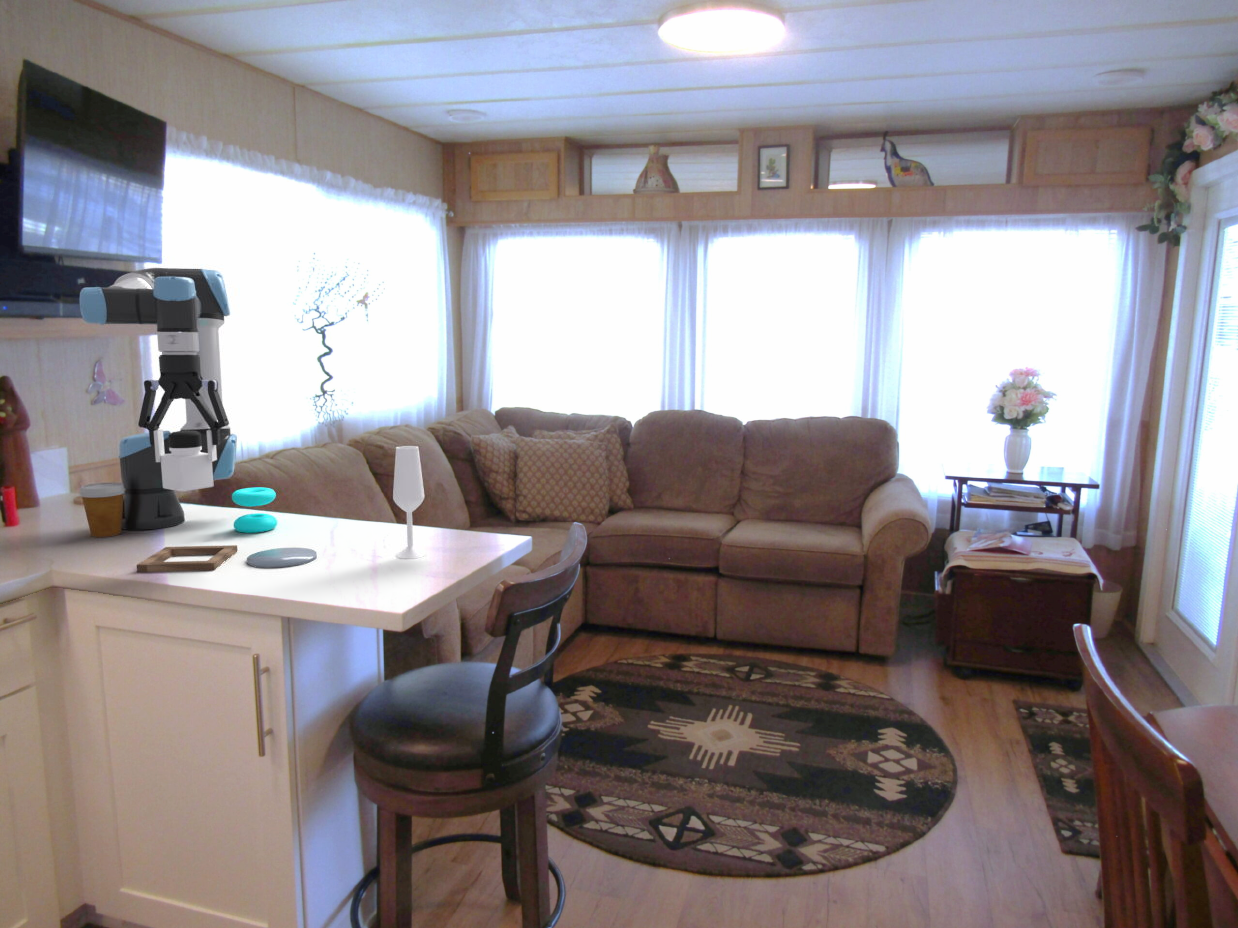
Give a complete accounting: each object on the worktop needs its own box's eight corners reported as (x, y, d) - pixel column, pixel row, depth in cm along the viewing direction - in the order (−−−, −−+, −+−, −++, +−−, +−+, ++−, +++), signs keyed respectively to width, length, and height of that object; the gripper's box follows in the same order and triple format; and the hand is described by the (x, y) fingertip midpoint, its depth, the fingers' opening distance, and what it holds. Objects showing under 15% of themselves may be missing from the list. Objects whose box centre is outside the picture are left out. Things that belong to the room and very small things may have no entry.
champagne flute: (410, 560, 182) (407, 450, 178) (388, 555, 185) (384, 447, 182) (432, 553, 188) (429, 446, 184) (410, 549, 191) (407, 444, 188)
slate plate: (258, 551, 188) (257, 548, 188) (322, 550, 190) (322, 546, 190) (238, 568, 174) (237, 565, 174) (308, 566, 176) (308, 563, 176)
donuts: (243, 486, 213) (282, 486, 213) (245, 524, 215) (284, 525, 215) (223, 493, 204) (264, 494, 203) (226, 533, 205) (266, 534, 205)
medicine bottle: (214, 486, 179) (210, 430, 177) (182, 491, 173) (178, 433, 171) (194, 483, 182) (190, 428, 181) (162, 488, 176) (157, 431, 174)
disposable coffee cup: (137, 530, 208) (133, 482, 206) (111, 539, 199) (106, 489, 197) (101, 529, 209) (97, 481, 207) (73, 538, 199) (68, 488, 198)
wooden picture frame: (166, 553, 186) (166, 546, 186) (237, 551, 188) (237, 545, 188) (136, 572, 172) (136, 564, 171) (214, 570, 173) (214, 562, 173)
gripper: (112, 353, 168) (121, 464, 172) (229, 354, 171) (236, 463, 174) (130, 353, 176) (138, 458, 179) (241, 353, 178) (248, 457, 182)
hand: (186, 460), depth 177 cm, fingers closed on medicine bottle, 10 cm apart
